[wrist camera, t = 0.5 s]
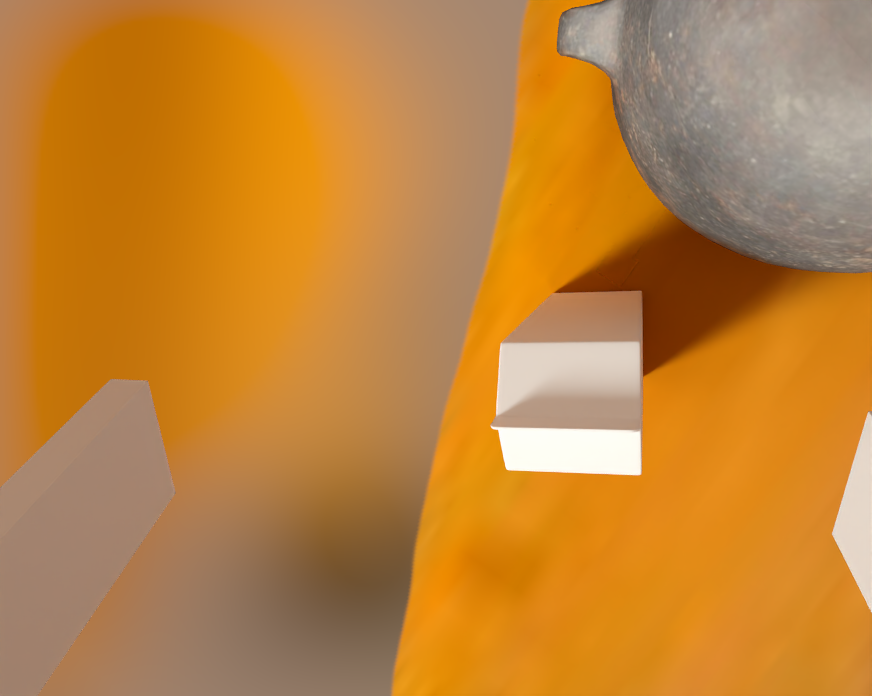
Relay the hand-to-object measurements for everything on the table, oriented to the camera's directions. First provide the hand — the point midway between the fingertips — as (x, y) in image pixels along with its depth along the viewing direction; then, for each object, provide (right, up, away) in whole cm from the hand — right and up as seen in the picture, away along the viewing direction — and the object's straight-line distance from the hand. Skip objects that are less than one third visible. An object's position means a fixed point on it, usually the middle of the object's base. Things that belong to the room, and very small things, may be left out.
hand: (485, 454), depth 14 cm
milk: (+10, +3, +36) cm, 38 cm away
